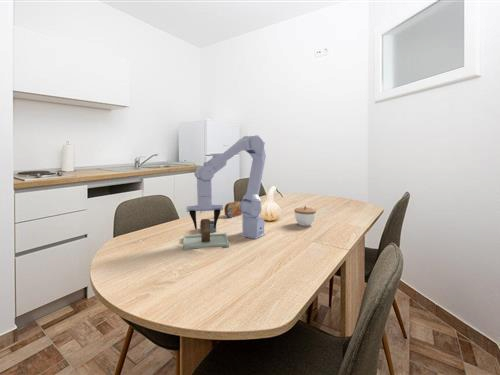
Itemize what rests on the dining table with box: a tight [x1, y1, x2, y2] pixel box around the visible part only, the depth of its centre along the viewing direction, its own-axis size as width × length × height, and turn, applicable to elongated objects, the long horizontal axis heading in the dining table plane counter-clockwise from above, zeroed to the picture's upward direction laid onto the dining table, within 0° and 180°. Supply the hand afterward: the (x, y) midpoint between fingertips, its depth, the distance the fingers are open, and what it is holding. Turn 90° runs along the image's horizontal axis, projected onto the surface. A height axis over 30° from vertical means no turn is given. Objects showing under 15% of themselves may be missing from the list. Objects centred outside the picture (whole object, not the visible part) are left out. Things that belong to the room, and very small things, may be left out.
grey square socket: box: [199, 220, 217, 234], centre depth 134 cm, size 7×7×4 cm
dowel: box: [200, 218, 211, 242], centre depth 118 cm, size 4×4×9 cm
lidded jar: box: [294, 206, 317, 227], centre depth 145 cm, size 11×11×9 cm
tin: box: [223, 200, 242, 219], centre depth 164 cm, size 15×3×8 cm, turn 143°
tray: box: [182, 233, 230, 251], centre depth 118 cm, size 18×13×2 cm
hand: (205, 228), depth 117 cm, fingers open, 7 cm apart
